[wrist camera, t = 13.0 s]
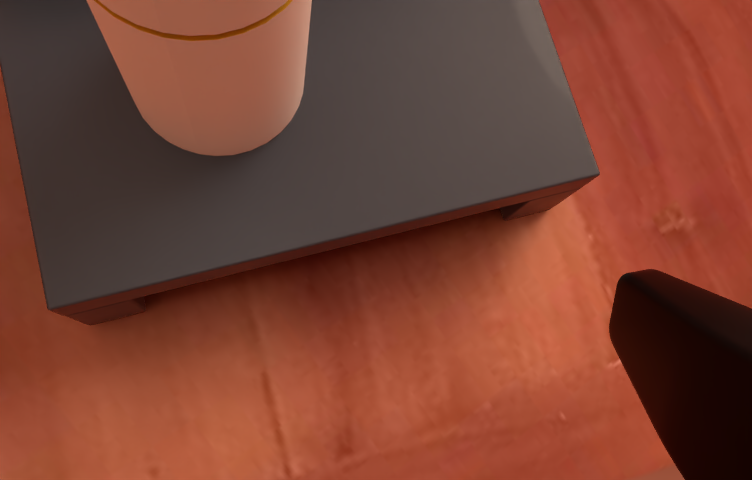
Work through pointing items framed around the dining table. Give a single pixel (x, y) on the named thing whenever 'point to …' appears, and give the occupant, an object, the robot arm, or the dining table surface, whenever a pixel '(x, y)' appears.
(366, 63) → the shelf
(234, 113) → the tube
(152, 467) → the dining table surface
